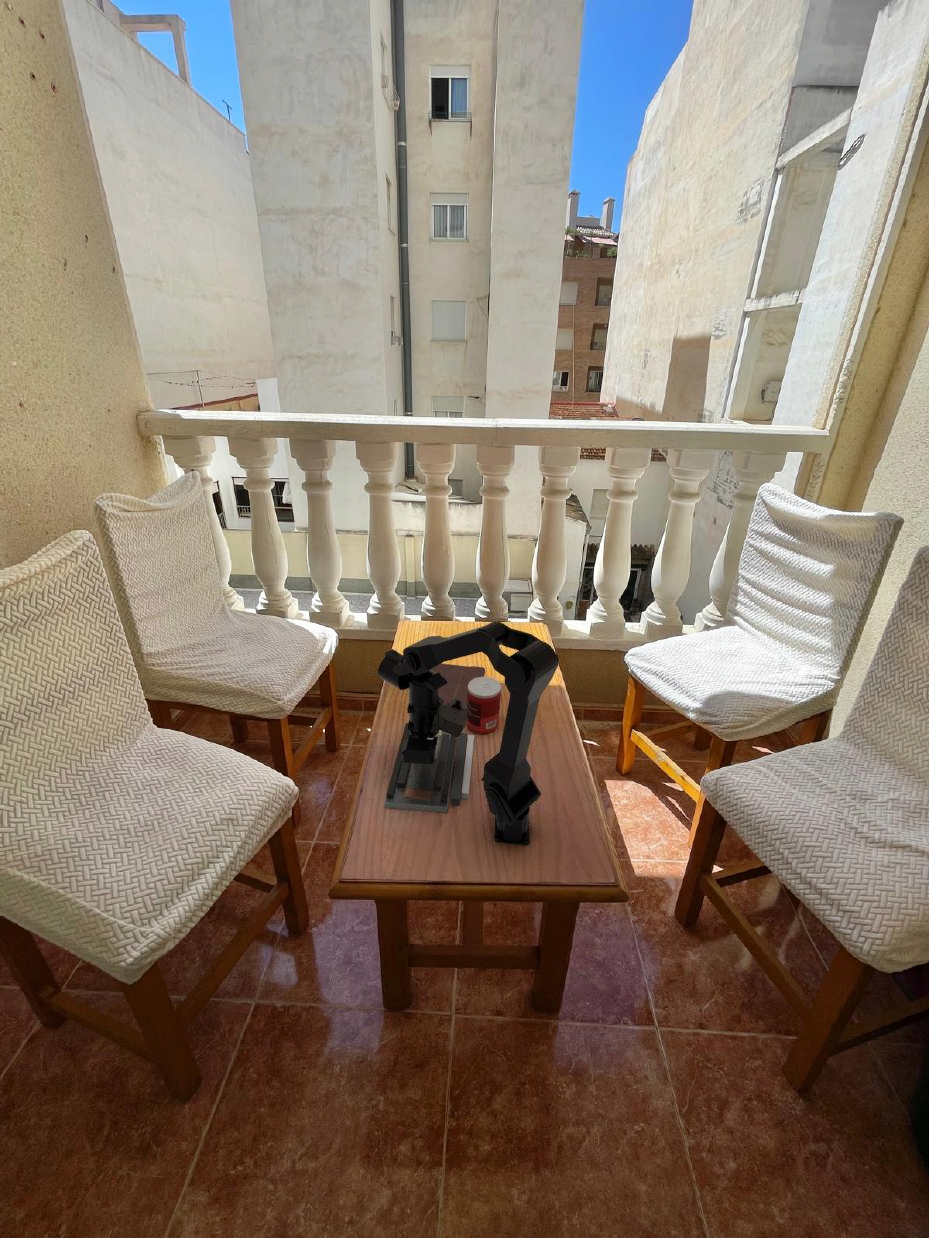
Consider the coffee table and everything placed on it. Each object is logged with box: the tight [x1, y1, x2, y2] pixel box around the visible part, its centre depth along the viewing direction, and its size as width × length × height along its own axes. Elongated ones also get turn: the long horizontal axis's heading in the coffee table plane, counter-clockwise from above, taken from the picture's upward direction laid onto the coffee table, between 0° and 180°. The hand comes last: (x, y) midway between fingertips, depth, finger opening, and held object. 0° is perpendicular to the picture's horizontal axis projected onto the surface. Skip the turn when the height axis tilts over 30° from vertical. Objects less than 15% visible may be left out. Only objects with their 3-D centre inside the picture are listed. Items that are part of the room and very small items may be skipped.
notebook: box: [430, 663, 486, 713], centre depth 144 cm, size 15×20×2 cm
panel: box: [384, 722, 458, 814], centre depth 117 cm, size 24×12×3 cm, turn 176°
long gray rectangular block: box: [449, 732, 475, 807], centre depth 117 cm, size 20×3×2 cm, turn 176°
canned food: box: [466, 676, 502, 735], centre depth 129 cm, size 8×8×11 cm
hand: (423, 759), depth 115 cm, fingers closed
